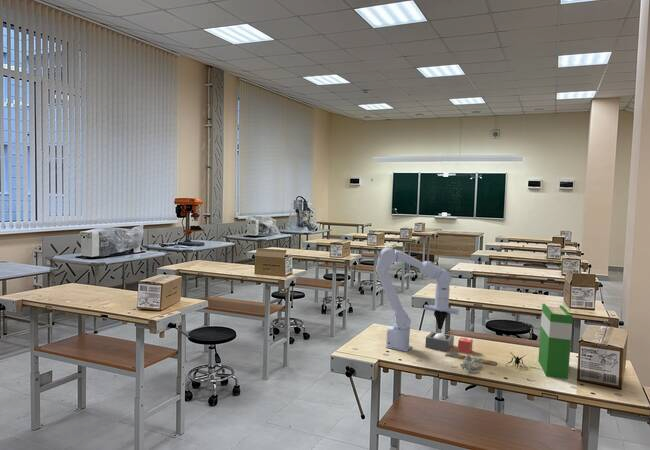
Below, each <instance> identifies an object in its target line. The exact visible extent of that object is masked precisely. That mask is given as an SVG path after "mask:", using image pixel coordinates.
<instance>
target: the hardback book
mask: <svg viewBox="0 0 650 450" xmlns="http://www.w3.org/2000/svg"><path fill="white" fill-rule="evenodd" d="M573 318H574V317H573V315H572V314H571V313H570V312H569V311H568V310H567V309H566V308H565V306H563V305H559V306H551V305H550V306H549V305H546V304H545V303H542V304H541V319H540V334H539V347H538V358H537V359H538V361H537V362H538V363H539V365H540V367H541V369H542V371H543V373H544V375H545V377H547V378H548V377H549V378H555V379H563V380H568V379H569V369H570V357H571V345H572V332H573V331H572V330H573Z"/></svg>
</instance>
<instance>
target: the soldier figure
mask: <svg viewBox="0 0 650 450" xmlns="http://www.w3.org/2000/svg"><path fill="white" fill-rule="evenodd" d="M471 355H472V354H471V353H470V354H467V355H465V356H466V357H465V359H463V362H462V363H460V364H459V366H461V368H462V370H466V371H468V372H469V373H471V374H480V373H481V370H476V369H480V368H482V367H483V366H484V363H480V364H476V365H474V364H475V363H478V362H477V361H479V360H480V359H481V358H480V357H477V358H478V359H476V360H474V359H473V360H472V361H468V360H467V358H468V356H471ZM479 358H480V359H479Z"/></svg>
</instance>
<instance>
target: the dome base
mask: <svg viewBox="0 0 650 450" xmlns="http://www.w3.org/2000/svg"><path fill="white" fill-rule="evenodd" d="M437 333H438V332H437V331H431V332H430V333H429V334H428V335H427V336H425V346H424V347H425V348H427V349H432V350H433V349H434V350H437V351H443V352H446V353H447V352H449V351H450V350H451V349H452V348H453V347H454V344H455V335H452V334H447V333H443V334H444V335H445V336H446V339H447V340H443V339H438V338H434V336H435V335H436V334H437Z"/></svg>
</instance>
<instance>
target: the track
mask: <svg viewBox="0 0 650 450" xmlns="http://www.w3.org/2000/svg"><path fill="white" fill-rule="evenodd" d="M466 356H467V355H465V354H464V355H463V354H460V353H459V354H458V353H454V352H449V351H448V352H447V351H446V353H445V357H450V358H454V359H460V360H464V359H465V357H466ZM478 358H479V359H480V360H479V361H477V362H476V363H479V364H483V365H484V364H485V365H489V366H496V365H497V362H498V361H495V360H490V359H484V358H481V357H474V356H471V355H469V356H468V358H467V360H466V361H469V362H471V361H472V360H473V359H474V360H476V359H478Z"/></svg>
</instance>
